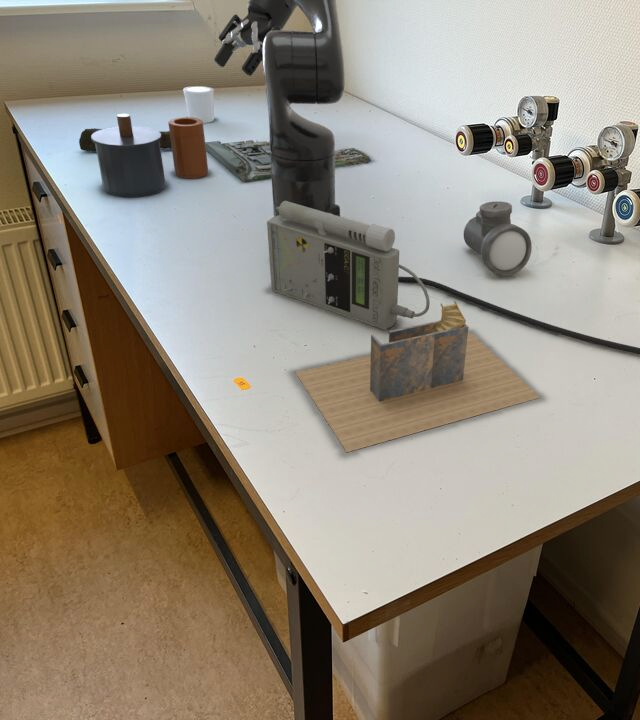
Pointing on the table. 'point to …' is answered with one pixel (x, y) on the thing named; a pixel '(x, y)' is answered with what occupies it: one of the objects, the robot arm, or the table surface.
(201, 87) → the white cylinder
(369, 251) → the geiger counter
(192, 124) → the jar
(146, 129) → the tin lid
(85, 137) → the hand tool
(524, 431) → the table surface
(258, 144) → the model
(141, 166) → the tin
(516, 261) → the pipe fitting
